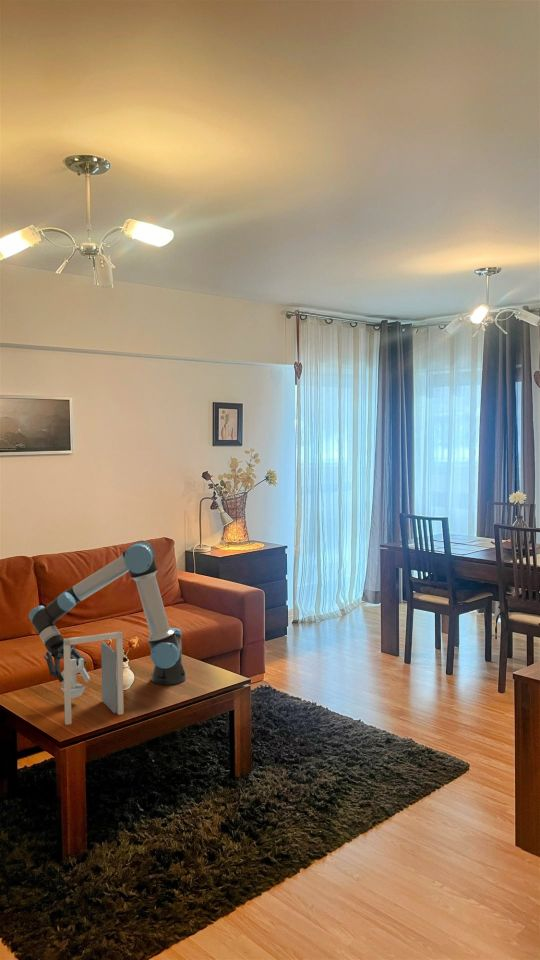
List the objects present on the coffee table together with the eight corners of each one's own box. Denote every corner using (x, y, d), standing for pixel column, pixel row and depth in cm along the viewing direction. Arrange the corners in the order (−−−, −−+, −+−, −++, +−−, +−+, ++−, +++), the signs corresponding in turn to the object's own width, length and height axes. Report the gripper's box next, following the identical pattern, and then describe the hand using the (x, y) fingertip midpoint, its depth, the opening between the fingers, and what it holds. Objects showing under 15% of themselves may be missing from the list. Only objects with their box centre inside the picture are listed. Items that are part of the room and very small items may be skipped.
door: (120, 711, 270) (119, 651, 269) (113, 713, 269) (112, 652, 268) (108, 699, 284) (107, 641, 284) (102, 700, 283) (101, 642, 282)
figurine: (58, 696, 281) (57, 660, 280) (78, 690, 288) (77, 654, 287) (68, 700, 276) (67, 663, 275) (88, 694, 283) (87, 658, 282)
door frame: (122, 712, 271) (120, 631, 270) (123, 713, 269) (122, 632, 268) (64, 723, 260) (63, 638, 259) (66, 724, 259) (64, 640, 257)
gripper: (70, 638, 299) (95, 681, 290) (25, 651, 281) (51, 697, 272) (77, 628, 296) (103, 671, 287) (33, 640, 278) (59, 686, 269)
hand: (78, 683), depth 280 cm, fingers closed on figurine, 9 cm apart
